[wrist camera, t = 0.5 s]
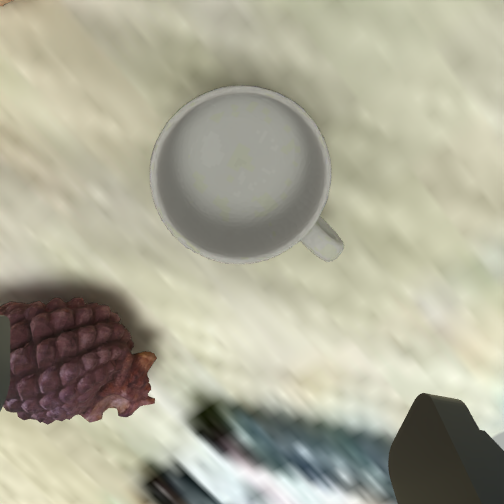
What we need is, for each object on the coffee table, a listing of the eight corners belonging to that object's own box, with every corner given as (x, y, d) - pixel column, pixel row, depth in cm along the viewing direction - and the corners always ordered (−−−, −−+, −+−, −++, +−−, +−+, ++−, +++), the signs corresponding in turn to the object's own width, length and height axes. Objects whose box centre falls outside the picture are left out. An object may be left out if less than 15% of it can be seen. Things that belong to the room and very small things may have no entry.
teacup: (138, 141, 34) (109, 172, 27) (253, 38, 31) (255, 42, 24) (257, 270, 39) (260, 326, 32) (366, 192, 36) (396, 233, 29)
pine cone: (-37, 336, 41) (-116, 422, 32) (-27, 240, 37) (-114, 308, 28) (156, 386, 44) (133, 478, 35) (185, 302, 40) (167, 381, 31)
